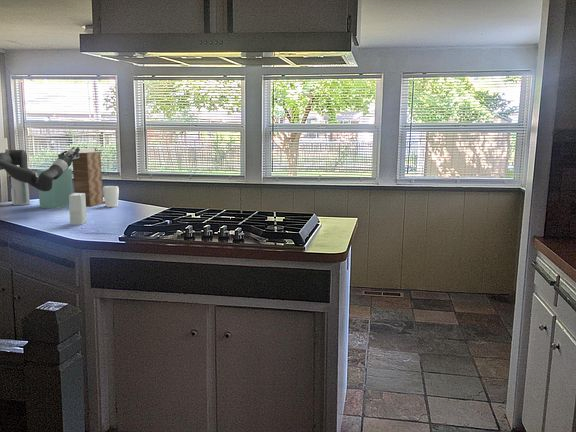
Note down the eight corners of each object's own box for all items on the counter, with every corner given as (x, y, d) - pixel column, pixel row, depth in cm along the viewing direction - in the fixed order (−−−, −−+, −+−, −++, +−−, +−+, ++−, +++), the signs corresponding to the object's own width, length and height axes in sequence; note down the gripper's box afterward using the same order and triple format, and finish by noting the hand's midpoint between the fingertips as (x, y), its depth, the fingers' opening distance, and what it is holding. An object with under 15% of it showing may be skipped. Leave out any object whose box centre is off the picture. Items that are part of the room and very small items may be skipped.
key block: (54, 208, 306) (51, 170, 302) (39, 207, 308) (36, 170, 305) (73, 204, 324) (71, 168, 320) (59, 203, 326) (57, 168, 322)
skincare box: (75, 222, 262) (73, 192, 259) (87, 222, 262) (85, 192, 260) (69, 225, 254) (67, 194, 251) (82, 225, 254) (80, 194, 252)
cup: (103, 205, 317) (102, 186, 315) (118, 204, 321) (117, 185, 319) (104, 207, 309) (103, 187, 307) (120, 206, 313) (119, 187, 311)
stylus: (72, 153, 301) (72, 149, 301) (69, 153, 302) (68, 149, 301) (96, 151, 324) (96, 147, 324) (93, 151, 325) (93, 147, 324)
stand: (90, 206, 312) (87, 153, 307) (72, 206, 315) (69, 152, 309) (105, 203, 328) (102, 151, 322) (88, 202, 330) (85, 151, 325)
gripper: (53, 170, 297) (68, 153, 310) (74, 170, 294) (89, 154, 307) (47, 159, 293) (63, 142, 306) (69, 159, 290) (84, 143, 303)
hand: (76, 148), depth 306 cm, fingers closed on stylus, 2 cm apart
